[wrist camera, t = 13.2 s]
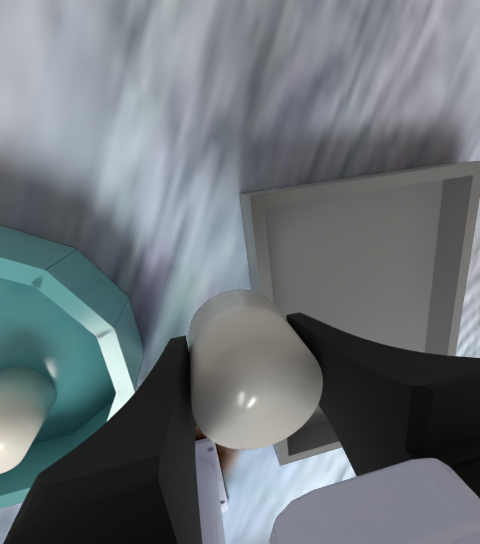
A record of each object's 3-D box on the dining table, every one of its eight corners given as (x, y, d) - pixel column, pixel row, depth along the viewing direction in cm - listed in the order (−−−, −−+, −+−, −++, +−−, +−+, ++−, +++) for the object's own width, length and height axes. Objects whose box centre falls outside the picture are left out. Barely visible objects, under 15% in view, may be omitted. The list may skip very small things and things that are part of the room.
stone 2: (285, 363, 14) (323, 430, 10) (197, 384, 13) (203, 463, 9) (279, 281, 12) (321, 324, 9) (179, 300, 12) (179, 355, 8)
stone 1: (66, 409, 20) (40, 461, 16) (1, 428, 20) (-42, 486, 16) (40, 358, 19) (4, 403, 15) (-32, 378, 18) (-88, 430, 14)
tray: (419, 393, 28) (445, 416, 26) (269, 435, 26) (280, 465, 23) (445, 163, 21) (485, 160, 18) (239, 193, 19) (249, 195, 16)
